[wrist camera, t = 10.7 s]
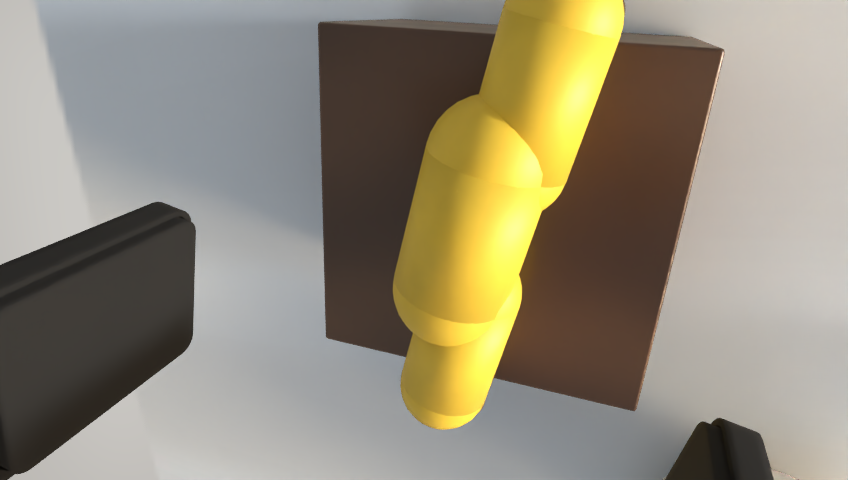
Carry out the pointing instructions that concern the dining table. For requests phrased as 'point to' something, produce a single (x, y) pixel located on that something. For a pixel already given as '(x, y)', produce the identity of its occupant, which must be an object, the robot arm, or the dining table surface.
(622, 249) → the block
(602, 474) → the dining table surface
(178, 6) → the dining table surface
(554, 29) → the banana
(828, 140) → the dining table surface
